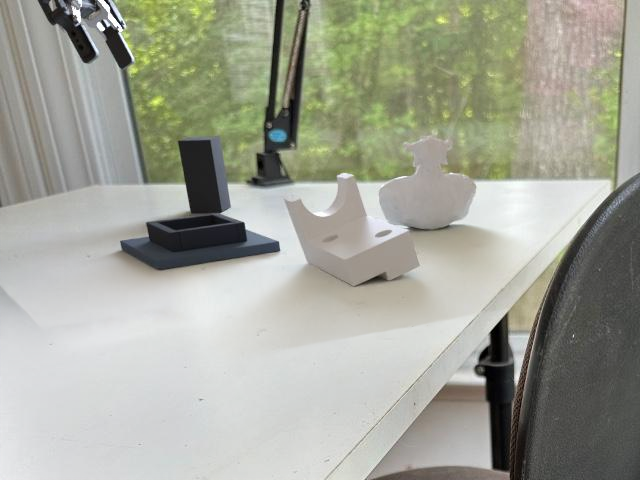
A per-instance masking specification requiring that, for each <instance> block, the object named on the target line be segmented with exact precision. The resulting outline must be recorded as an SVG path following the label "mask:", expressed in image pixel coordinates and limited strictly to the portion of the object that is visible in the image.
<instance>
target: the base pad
mask: <svg viewBox="0 0 640 480" xmlns="http://www.w3.org/2000/svg"><path fill="white" fill-rule="evenodd" d="M145 224H146V229H147V230H146V231H147V236H143V237H136V238H128V239H120V240H119V243H120V248H121V250H122V251H123V252H125V253H128V254H129V255H131V256H133V257H135V258H137V259H138V260H141V261H142V262H144V263H145V264H148V265H150V266H151V267H153V268H154V269H156V270H158V271H160V270H161V271H162V270H167V269H174V268H180V267H186V266H187V267H188V266H193V265H199V264H205V263H212V262H218V261H225V260H229V259H230V260H231V259H236V258H243V257H248V256H255V255H261V254H267V253H273V252H280V251H281V245H280V241H279V240H276V239H273V238H270V237H268V236H265V235H262V234H260V233H257V232H254V231H252V230H249V229H247V228H246V223H245V222H244V221H241V220H239V219H236V218H233V217H231V216H227V215H225V214H222V213H220V212H210V213H203V214H198V215H197V214H196V215H190V216H183V217H176V218H167V219H160V220H159V219H158V220H155V221H154V220H153V221H146V222H145Z"/></svg>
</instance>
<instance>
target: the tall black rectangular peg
mask: <svg viewBox="0 0 640 480" xmlns="http://www.w3.org/2000/svg"><path fill="white" fill-rule="evenodd" d="M177 145H178V149H179V156H180V161H181V166H182V172H183V177H184V178H183V179H184V183H185V184H184V185H185V190H186V195H187V200H188V207H189V212H190V214H211V213H223V212H225V211H227V210H228V209H229V208H231V207H232V204H231V199H230V192H229V186H228V179H227V173H226V165H225V160H224V153H223V147H222V141H221V136H220V135H219V136H215V135H214V136H189V137H185V138H182V139H179V140H177ZM208 212H209V213H208Z"/></svg>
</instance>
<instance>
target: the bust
mask: <svg viewBox="0 0 640 480" xmlns="http://www.w3.org/2000/svg"><path fill="white" fill-rule="evenodd" d="M453 145H454V142H453V140H452V139H449V138H447V139H446V140H443V139H441V138H440V139H439V138H437V136H436V135H435V133H432V134H430V135H424V134H420V139H419V140H416V141H414V142H411V143H410V142H408V141H405V142H403V143H402V147H403V149H404V150H405V152H406V153H411V154H412V155H413V162H412V167H413V168H415V172H414V173H412V174H411V175H410V176H409V175H408V176H407V175H405V176H399V177H395V178H393V179H390V180H387V181H386V182H385V183H384V184H383V185H382V186H381V187H380V188H379V190H378V202H379V205H380V208H381V212H382V214H383V216H384V218H385V220H386V222H388V223H391V224H394V225H396V226H401V227H406V228H416V229H421V230H431V231H433V230H434V231H435V230H437V229H442V228H445V227H447V226H449V225H450V224H452V223H455V222H458V221H462V220H464V219H465V218H466V217H467V216H468V215H469V211H470V208H471V206H472V204H473V200H474V197H476V192H477V188H478V187H477V184H476V182H475V181H474V180H473V179H472V178H471V177H469V176H468V175H465V174H461V173H453V172H449V173H447V172H445V171H444V170H443V168H442V166H441V164H442V165H444V166H448V164H449V162H448V156H447V155H448V153H447V152H449V151H450V150H452V149H453Z"/></svg>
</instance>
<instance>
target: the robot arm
mask: <svg viewBox="0 0 640 480" xmlns="http://www.w3.org/2000/svg"><path fill="white" fill-rule="evenodd" d="M37 2H38V4H39V6H40V8H41V10H42V12H43V14H44V15H45V18H46V19H47V21H48V22H49V24H50V25H51V26H54V27H55V26H57V25H58V27H59V29H60V30H61V31H62V32H63V33H65V34H67V36H68V37H69V40H70V41H71V43H72V45H73V47H74V49H75V50H76V52H77V54H78V56H79V57H80V59H81V61H82V63H83V64H87V65H91V64H92V63H94V61H96V60H97V59H98V58H99V57H100V51H99V50H98V48H97V47H96V45H95V43H94V41H93V39H92V37H91V35H90V34H89V32H88V30H87V28H86V26H85V25H87V27H89V28H92V29H94V30H96V31H97V33H98V34H99V35H100V36H101V38H102V39H104V40H105V44H106V45H107V48H108V50H109V51H110V53H111V55H112V57H113V59H114V61H115V62H116V64H117V66H118V68H119V69H121V70H127V69H128V68H130V67H131V66H132V65H134V64H135V57H134V55H133V53H132V52H131V51H132V50H130V48H129V45H128V44H127V42H126V40H125V39H124V37H123V35H122V31H124V30H125V29H127V23H126V22H125V20H124V18H123V17H122V15H121V13H120V12H119V10H118V8H117V6H116V4H115V3H114V1H113V0H37ZM50 2H51V3H52V8H51V6H50ZM81 21H83V22H84V23H85V25H84V24H83V23H81Z"/></svg>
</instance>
